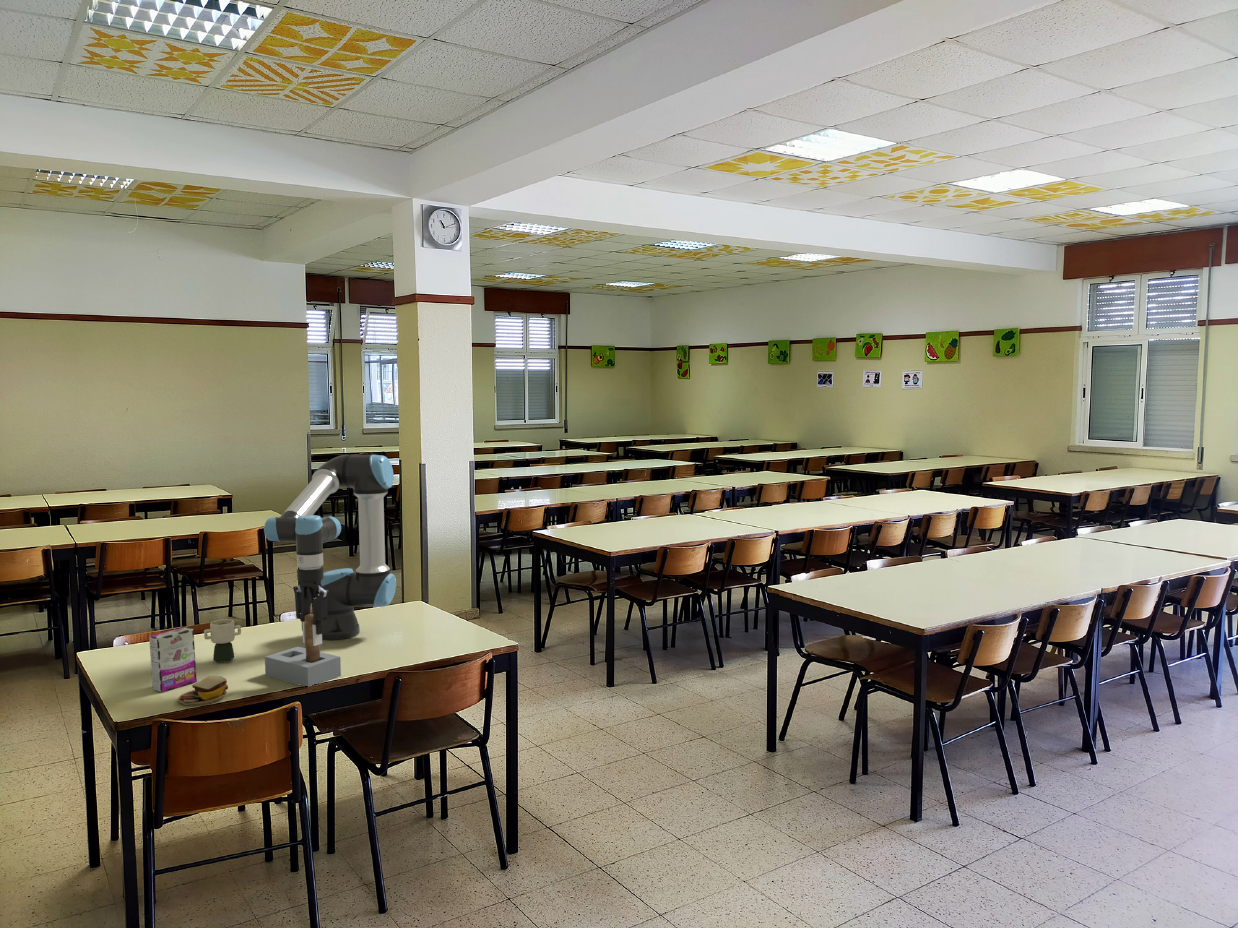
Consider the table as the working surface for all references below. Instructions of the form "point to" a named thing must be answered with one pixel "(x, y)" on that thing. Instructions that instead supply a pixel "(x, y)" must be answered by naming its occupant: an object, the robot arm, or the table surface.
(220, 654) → the cream green trophy cup
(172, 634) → the candy bar box
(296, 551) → the robot arm
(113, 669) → the table surface
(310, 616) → the walnut dowel
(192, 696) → the toy sandwich meal
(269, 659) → the socket block
